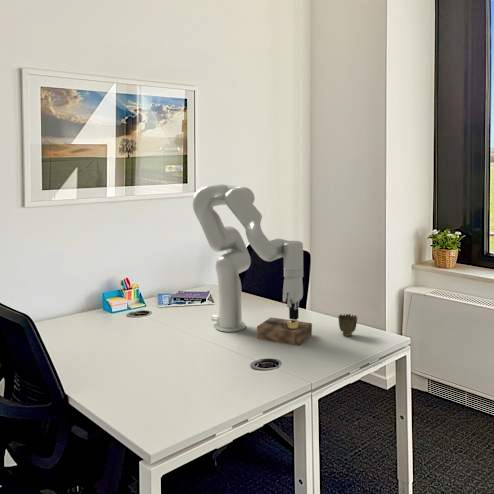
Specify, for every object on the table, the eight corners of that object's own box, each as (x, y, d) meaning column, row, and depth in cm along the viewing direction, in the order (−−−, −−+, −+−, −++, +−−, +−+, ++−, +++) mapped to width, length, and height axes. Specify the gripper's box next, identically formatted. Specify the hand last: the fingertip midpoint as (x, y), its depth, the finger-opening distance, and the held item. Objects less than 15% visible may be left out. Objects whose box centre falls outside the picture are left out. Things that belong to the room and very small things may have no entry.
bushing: (285, 339, 220) (285, 321, 219) (289, 335, 224) (289, 318, 222) (295, 340, 218) (296, 323, 217) (299, 337, 222) (300, 320, 220)
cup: (356, 339, 219) (357, 319, 217) (337, 338, 220) (338, 318, 219) (356, 333, 226) (357, 314, 225) (338, 332, 227) (338, 313, 226)
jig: (257, 338, 221) (257, 324, 220) (270, 328, 232) (270, 315, 231) (299, 345, 213) (299, 330, 212) (311, 335, 224) (311, 321, 223)
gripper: (291, 268, 224) (292, 312, 227) (276, 276, 211) (277, 323, 214) (309, 269, 221) (309, 314, 224) (295, 277, 208) (295, 325, 211)
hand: (293, 318), depth 219 cm, fingers closed
